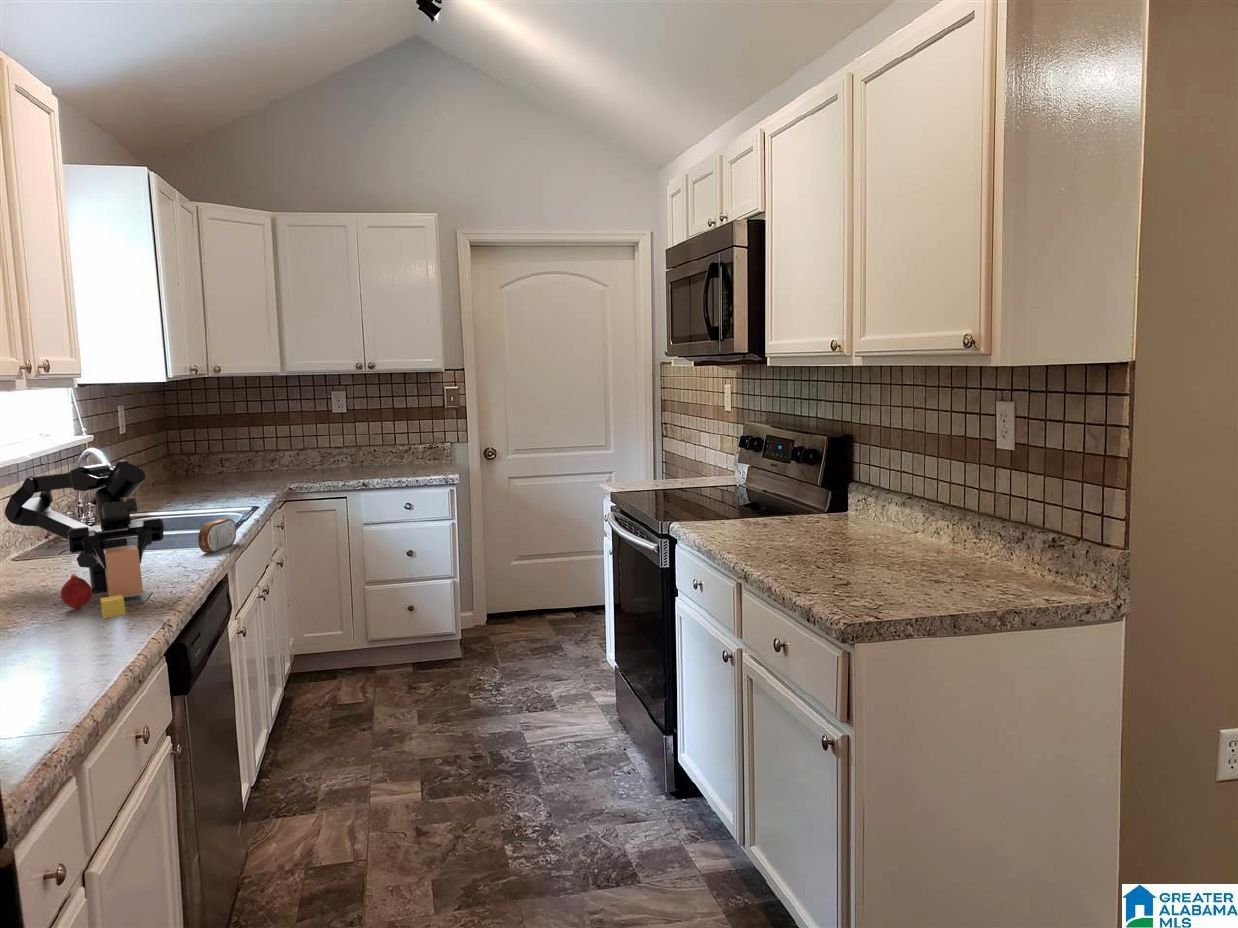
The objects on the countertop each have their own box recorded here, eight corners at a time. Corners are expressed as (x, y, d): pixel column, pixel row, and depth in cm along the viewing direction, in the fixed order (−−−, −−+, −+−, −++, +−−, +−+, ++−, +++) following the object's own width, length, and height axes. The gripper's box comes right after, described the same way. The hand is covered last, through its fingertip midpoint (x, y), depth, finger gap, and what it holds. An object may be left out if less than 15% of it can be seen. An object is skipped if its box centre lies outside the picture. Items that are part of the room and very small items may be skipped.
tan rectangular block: (107, 592, 202) (102, 549, 201) (139, 587, 206) (134, 544, 204) (110, 598, 197) (105, 553, 196) (143, 593, 201) (138, 549, 199)
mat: (109, 597, 205) (109, 596, 205) (152, 593, 207) (152, 591, 207) (98, 608, 196) (98, 606, 196) (144, 603, 198) (143, 601, 198)
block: (102, 614, 192) (100, 598, 191) (123, 610, 194) (121, 594, 193) (103, 618, 188) (101, 602, 188) (125, 614, 191) (123, 598, 190)
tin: (229, 543, 260) (226, 515, 259) (239, 543, 260) (236, 514, 259) (198, 555, 246) (195, 525, 244) (209, 555, 245) (206, 525, 244)
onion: (99, 605, 198) (94, 569, 197) (84, 612, 193) (80, 576, 192) (72, 606, 198) (67, 571, 197) (57, 614, 193) (52, 577, 192)
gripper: (63, 493, 196) (72, 551, 189) (158, 483, 207) (170, 537, 199) (65, 523, 204) (74, 580, 196) (156, 512, 214) (168, 566, 207)
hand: (122, 565), depth 199 cm, fingers closed on tan rectangular block, 6 cm apart
